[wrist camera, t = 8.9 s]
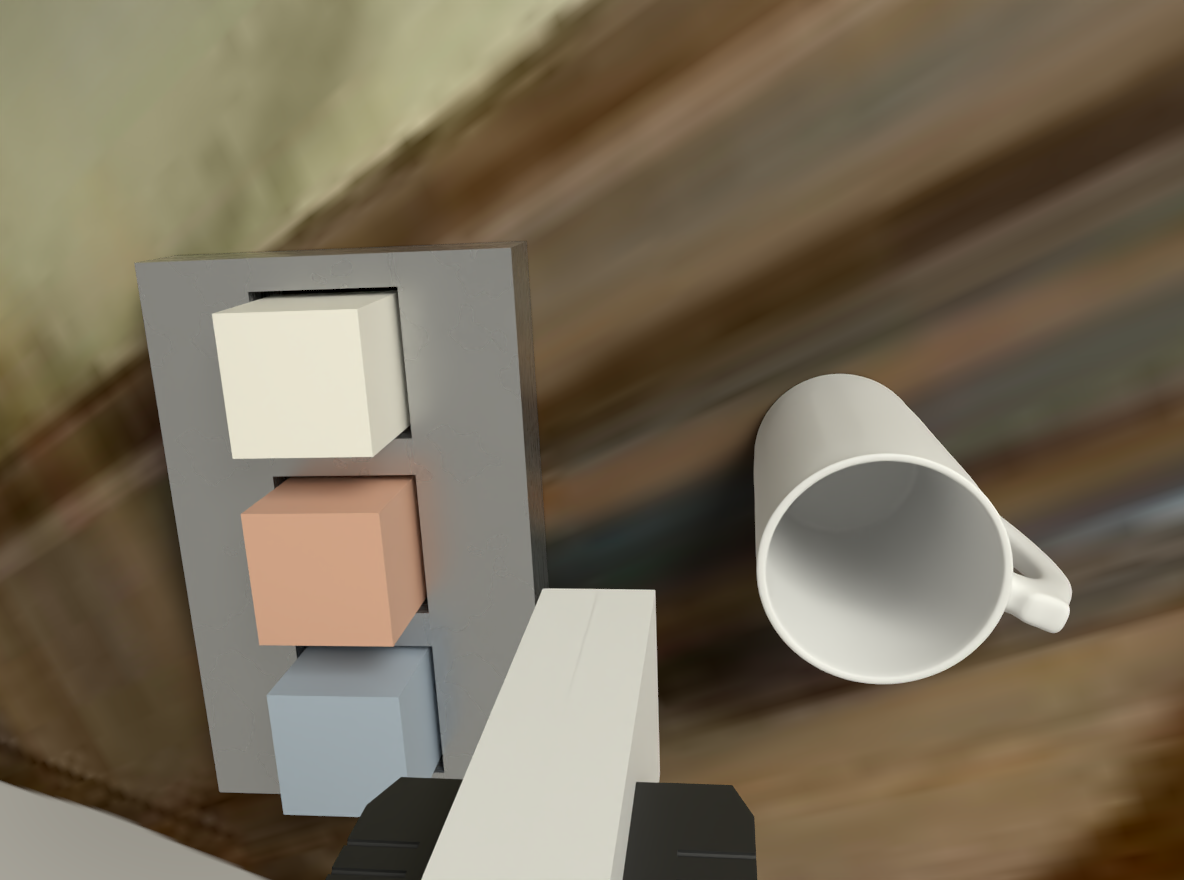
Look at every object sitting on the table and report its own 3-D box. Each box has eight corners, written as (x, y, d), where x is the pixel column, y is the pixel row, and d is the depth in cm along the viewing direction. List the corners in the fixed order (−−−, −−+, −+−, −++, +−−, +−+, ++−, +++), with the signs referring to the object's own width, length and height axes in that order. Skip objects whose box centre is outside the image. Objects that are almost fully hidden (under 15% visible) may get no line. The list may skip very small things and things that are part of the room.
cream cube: (274, 294, 39) (211, 313, 34) (402, 290, 38) (357, 309, 34) (290, 423, 40) (232, 458, 36) (415, 420, 40) (373, 456, 35)
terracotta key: (297, 472, 41) (240, 514, 36) (419, 470, 40) (379, 513, 35) (311, 589, 42) (259, 645, 37) (431, 590, 42) (393, 646, 37)
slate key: (317, 634, 43) (266, 695, 38) (435, 635, 42) (398, 697, 37) (331, 742, 44) (283, 814, 39) (446, 745, 43) (411, 818, 39)
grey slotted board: (175, 255, 41) (134, 262, 38) (526, 240, 39) (511, 247, 36) (250, 752, 46) (219, 792, 43) (559, 760, 45) (548, 801, 42)
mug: (721, 501, 41) (721, 636, 29) (783, 340, 39) (809, 418, 27) (966, 586, 40) (1063, 757, 29) (1041, 429, 38) (1176, 545, 27)
